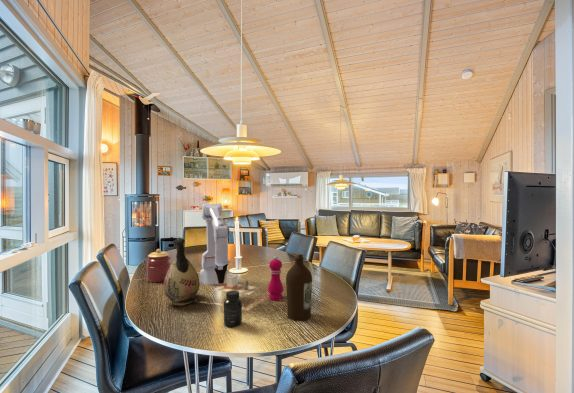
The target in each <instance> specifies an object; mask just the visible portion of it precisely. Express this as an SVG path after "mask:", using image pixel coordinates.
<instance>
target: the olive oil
mask: <svg viewBox="0 0 574 393" xmlns="http://www.w3.org/2000/svg"><path fill="white" fill-rule="evenodd" d="M285 276H286V277H285V287H286V290H285V291H286V310H287V312H286V313H287V314H286V316H287V317H288V319H290V320H291V321H296V322H298V321H300V322H301V321H308V320H309V319H310V318H311V314H312V308H311V307H312V290H313V289H312V288H313V275H312V273H311V271H310V269H308V268H307V266H306V265H305V264H304V254H303V253H295V254H294V263H293V265H292V266H291V267H290V268H289V269H288V271H287V273H286V275H285Z"/></svg>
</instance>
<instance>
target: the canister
mask: <svg viewBox="0 0 574 393" xmlns="http://www.w3.org/2000/svg"><path fill="white" fill-rule="evenodd" d="M170 261H171V257H170V253H169V252H167V251H162V250H161V248H157V249H156V250H155V251H154V252H150V253H149V254H147V258H146V263H147V264H146V265H145V267H146V281H147V282H149V283H162V282H164V280H165V277H166V274H167V272H168V270H169V268H170V266H171V264H172V263H171V262H170Z"/></svg>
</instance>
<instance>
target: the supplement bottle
mask: <svg viewBox="0 0 574 393" xmlns="http://www.w3.org/2000/svg"><path fill="white" fill-rule="evenodd" d="M225 294H226V296H225V299H224V301H223V325H224V326H225V327H227V328H237V327H240V326H241V325H242V323H243V301H242V299H241V298H240V293H239V292H238V291H228V292H227V291H226V293H225Z"/></svg>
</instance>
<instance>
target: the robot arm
mask: <svg viewBox="0 0 574 393" xmlns="http://www.w3.org/2000/svg"><path fill="white" fill-rule="evenodd" d="M222 214H223V206H222V203H203V204H202V205H201V217H202V220H204V221H205V223H206V251H204V252H203V253H202V255H201V262H200V263H201V268H202V269H201V270H199V271H200V272H199V282H200V284H203V285H207V286H212V285H216V274H217V278H218V283H219V284H221V283H224V278H225V273H226V271H227V272H228V266H229V264H231V260H229V238H230V226H229V225H228V224H226V222H225V219H224V218H223V217H222Z"/></svg>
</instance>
